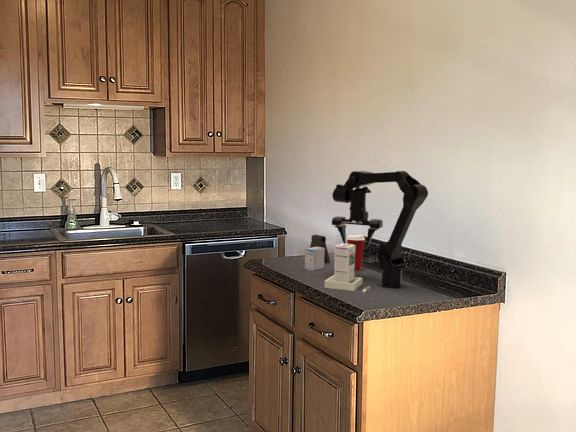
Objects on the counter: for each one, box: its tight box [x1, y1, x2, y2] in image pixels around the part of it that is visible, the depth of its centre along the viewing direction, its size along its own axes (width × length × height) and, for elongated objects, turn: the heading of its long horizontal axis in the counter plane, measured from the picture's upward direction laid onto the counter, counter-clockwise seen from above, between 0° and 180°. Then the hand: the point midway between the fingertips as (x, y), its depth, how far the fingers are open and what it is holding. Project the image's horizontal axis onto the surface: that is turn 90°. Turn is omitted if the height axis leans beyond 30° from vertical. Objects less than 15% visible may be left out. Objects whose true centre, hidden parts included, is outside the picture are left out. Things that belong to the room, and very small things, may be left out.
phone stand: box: [309, 234, 331, 265], centre depth 277 cm, size 9×6×12 cm, turn 129°
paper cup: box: [346, 234, 366, 272], centre depth 265 cm, size 8×8×14 cm
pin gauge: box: [361, 285, 372, 294], centre depth 228 cm, size 8×1×1 cm, turn 158°
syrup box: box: [333, 243, 356, 283], centre depth 233 cm, size 6×6×14 cm
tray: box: [323, 274, 363, 292], centre depth 234 cm, size 11×11×3 cm
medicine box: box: [304, 247, 325, 272], centre depth 264 cm, size 8×4×9 cm, turn 141°
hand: (356, 244), depth 246 cm, fingers open, 9 cm apart
